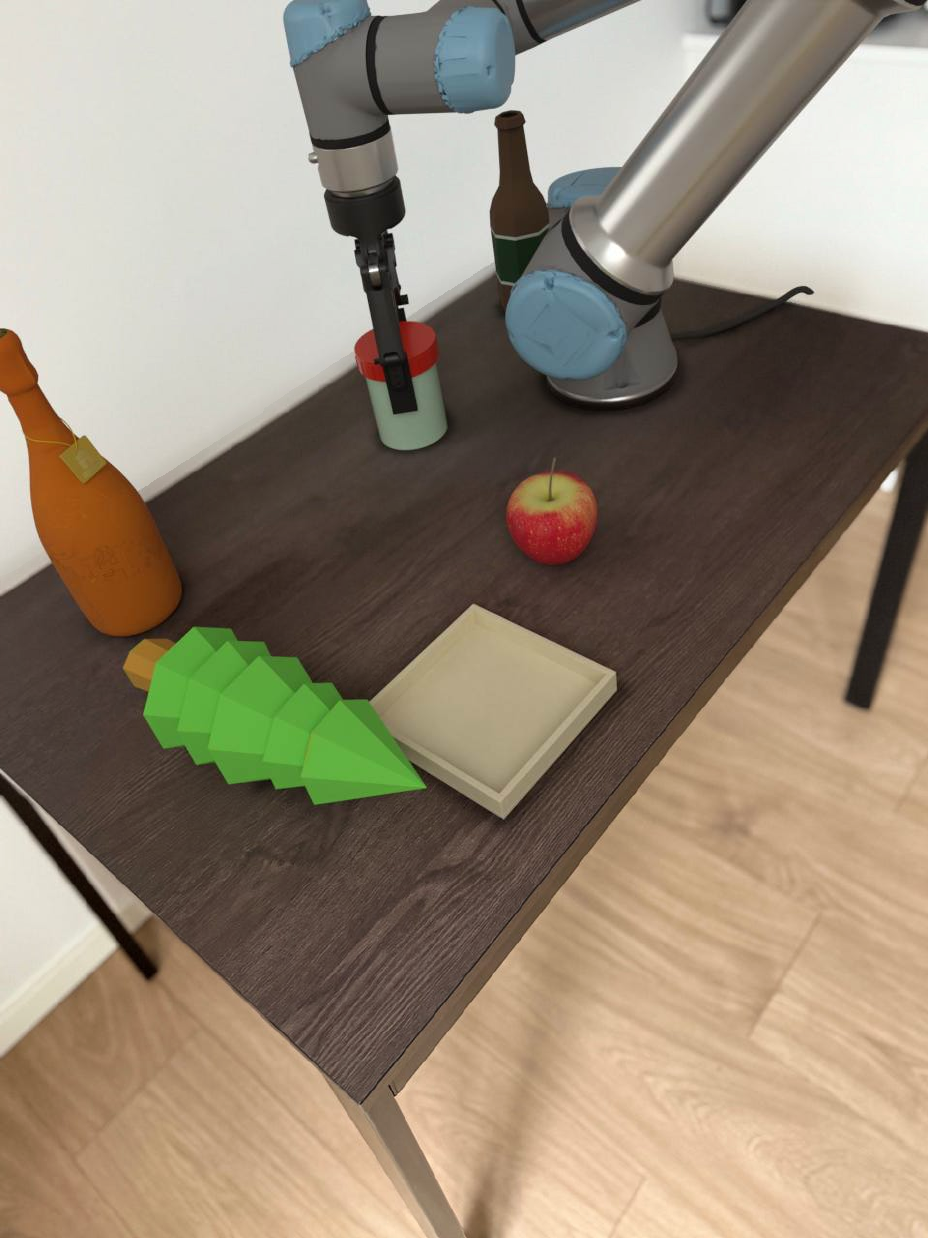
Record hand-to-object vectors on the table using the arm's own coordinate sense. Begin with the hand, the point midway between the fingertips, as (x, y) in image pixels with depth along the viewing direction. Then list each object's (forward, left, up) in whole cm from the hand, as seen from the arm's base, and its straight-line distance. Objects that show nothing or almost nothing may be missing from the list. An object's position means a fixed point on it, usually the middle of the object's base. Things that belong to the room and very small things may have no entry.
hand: (404, 386), depth 107 cm
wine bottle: (+37, -4, -6) cm, 38 cm away
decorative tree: (+42, +23, -6) cm, 48 cm away
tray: (+28, +34, -6) cm, 44 cm away
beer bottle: (-30, -6, -6) cm, 31 cm away
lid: (0, 0, +5) cm, 5 cm away
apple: (+9, +27, -6) cm, 29 cm away
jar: (0, 0, -6) cm, 6 cm away
